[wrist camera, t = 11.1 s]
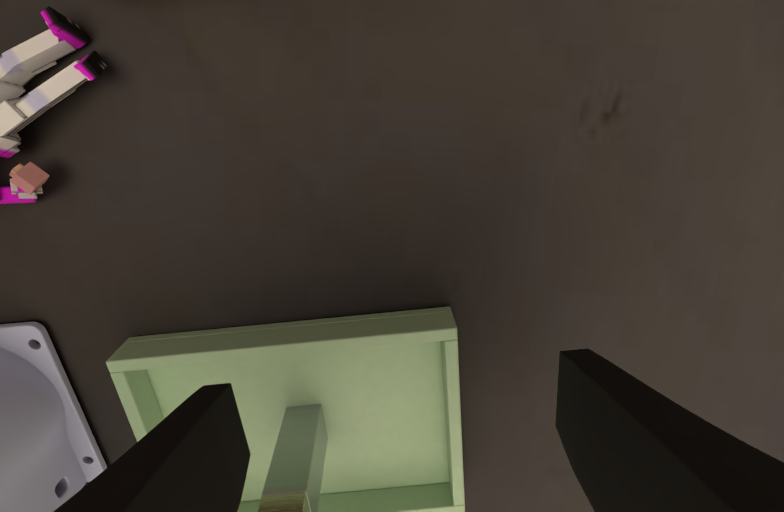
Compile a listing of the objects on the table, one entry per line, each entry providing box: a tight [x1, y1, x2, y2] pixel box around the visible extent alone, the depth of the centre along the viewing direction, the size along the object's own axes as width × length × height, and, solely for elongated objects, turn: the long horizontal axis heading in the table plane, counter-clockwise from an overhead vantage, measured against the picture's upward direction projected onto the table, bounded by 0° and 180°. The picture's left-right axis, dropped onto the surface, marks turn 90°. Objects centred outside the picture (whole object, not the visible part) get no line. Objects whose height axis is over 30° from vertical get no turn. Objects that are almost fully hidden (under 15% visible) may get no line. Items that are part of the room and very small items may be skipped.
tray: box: [106, 307, 465, 512], centre depth 22 cm, size 11×15×2 cm
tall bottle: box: [257, 405, 328, 512], centre depth 18 cm, size 2×2×10 cm
